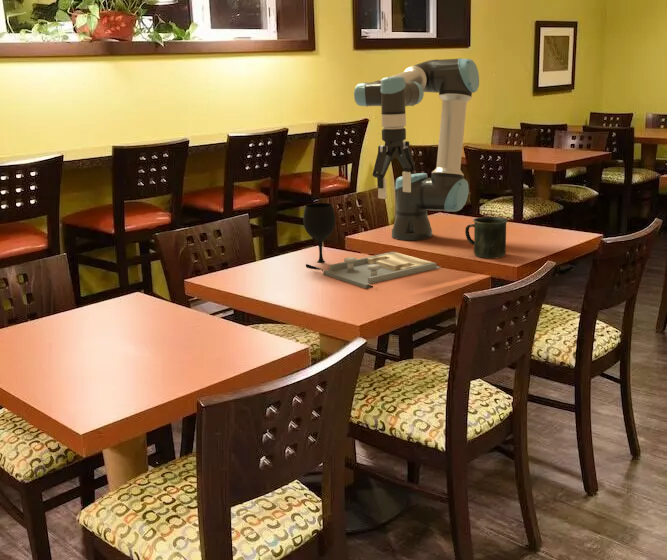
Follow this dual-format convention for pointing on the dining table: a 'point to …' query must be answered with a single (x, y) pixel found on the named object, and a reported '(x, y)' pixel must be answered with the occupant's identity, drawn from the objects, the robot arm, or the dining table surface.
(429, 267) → the board
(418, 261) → the panel
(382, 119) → the robot arm
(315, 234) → the wine glass
